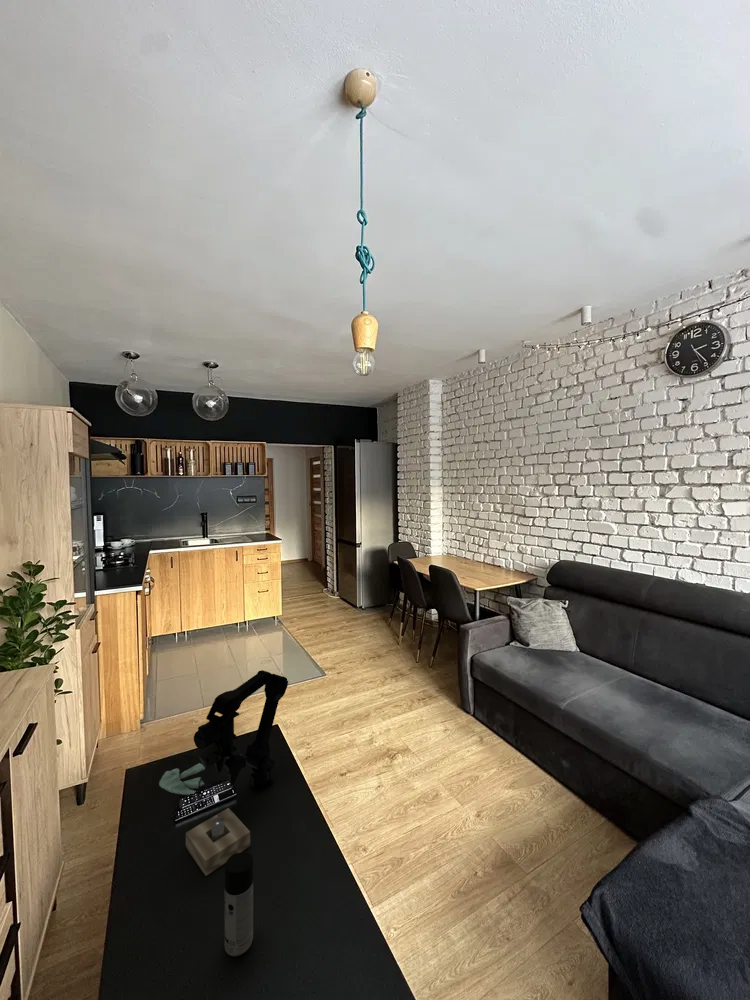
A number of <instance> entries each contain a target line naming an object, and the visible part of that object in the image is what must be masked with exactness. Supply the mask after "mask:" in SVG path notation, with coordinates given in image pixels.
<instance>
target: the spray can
mask: <svg viewBox="0 0 750 1000" xmlns="http://www.w3.org/2000/svg"><path fill="white" fill-rule="evenodd" d="M223 924H224V927H223V928H224V930H223V931H224V939H223V940H224V951H225V953H226V954H227V955H228V956H230V957H231V958H232V957H233V958H234V957H236V958H237V957H240V956H242V955H243V954H246V953H247V951H248V950H249V949H250V948H251V945H252V943H253V939H254V857H253V855H252V854H251V853H250V852H245V851H242V852H241V853H237V854H236V853H235V854H233V855H232V856H231V857H230V858H229V859H228V860H227V862H226V863H225V864H224V921H223Z"/></svg>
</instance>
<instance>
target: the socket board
mask: <svg viewBox="0 0 750 1000" xmlns="http://www.w3.org/2000/svg"><path fill="white" fill-rule="evenodd" d="M217 817H223V818H224V837H222V838H220V839H219V840H217V841H216V842H214V843H213V842H212V821H213V820H214V819H215V818H217ZM249 847H251V831H250V830H249V829H248V828H247V827H246V825H244V824H243V822H242V821H241V820H240V818H238V816H237V815H236V814H235V813H234V812H233V811H232V810H231V809H230V807H228V808H226V809H224V810H222V811H220V812H219V813H217V814H215V815H214V816H212V817H211V818H208V819H207V820H205V821H203V822H202V823H200V824H198V825H196V826H195V827H193V828H192V829H190V830H188V831H186V832H185V848H186V849H187V851H188V852H189V854H190V855H191V857H192V858H193V860H194V862H195V863H196V864H197V866H198V867H199V868H200V870H201V871H202V873H203V874H204V875H205V877H206V876H208V875H210V874H211V873H212V872H214V871H216V870H217V869H219V868H220V867H221V866H223V865H225V864H226V862H227V860H228V859H229V858H230V857H231V856H232V855H233V854H235V853H236V854H237V853H241V852H245V850H246V849H248V848H249Z"/></svg>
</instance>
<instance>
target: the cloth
mask: <svg viewBox="0 0 750 1000" xmlns="http://www.w3.org/2000/svg"><path fill="white" fill-rule="evenodd" d="M205 769H206V767H205V766H204V765H203V764H202V763H200V762H199V763H197V764H195V765H193V766H191V767H190V768H188V769H185V770H184V771H182V773H180V769H179V768H174V769H171V770H167V771H165V772H164V774H163V775H162V776H161V779H159V783H158V786H159V787H160V788H162V789H164V790H165V791H167V792H169V793H172V794H177V795H183V796H184V795H185V796H191V795H190V794H194V793H195V792H196V791H197V790H194V789H199V787H206V784H205V782H204V781H203V780H202V777H201V776H200V777H195V778H192V779H188V780H185V781H182V780H181V779H185V778H188V777H189V776H192V775H195V774H198V773H200V772H202V771H205Z"/></svg>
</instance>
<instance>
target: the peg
mask: <svg viewBox="0 0 750 1000" xmlns="http://www.w3.org/2000/svg"><path fill="white" fill-rule="evenodd" d="M222 837H224V818H223V817H217V818H215V819H214V820H213V821H212V842H213V843H214V842H216V841H217V840H219V839H220V838H222Z"/></svg>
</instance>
